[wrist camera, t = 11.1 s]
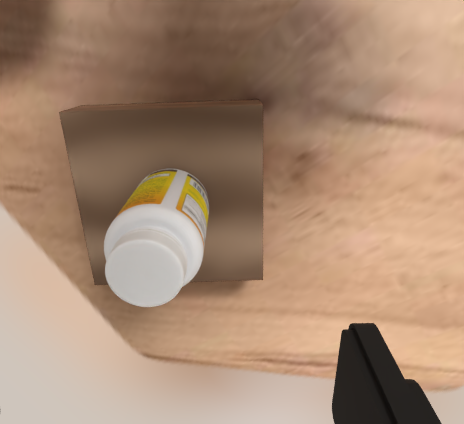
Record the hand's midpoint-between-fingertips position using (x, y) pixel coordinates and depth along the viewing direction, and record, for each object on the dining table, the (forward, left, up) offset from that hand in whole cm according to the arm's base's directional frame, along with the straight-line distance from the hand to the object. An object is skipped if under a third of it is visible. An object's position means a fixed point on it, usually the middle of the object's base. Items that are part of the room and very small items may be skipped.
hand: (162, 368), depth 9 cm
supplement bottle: (+2, -3, -19) cm, 19 cm away
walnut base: (+3, -3, -23) cm, 23 cm away
